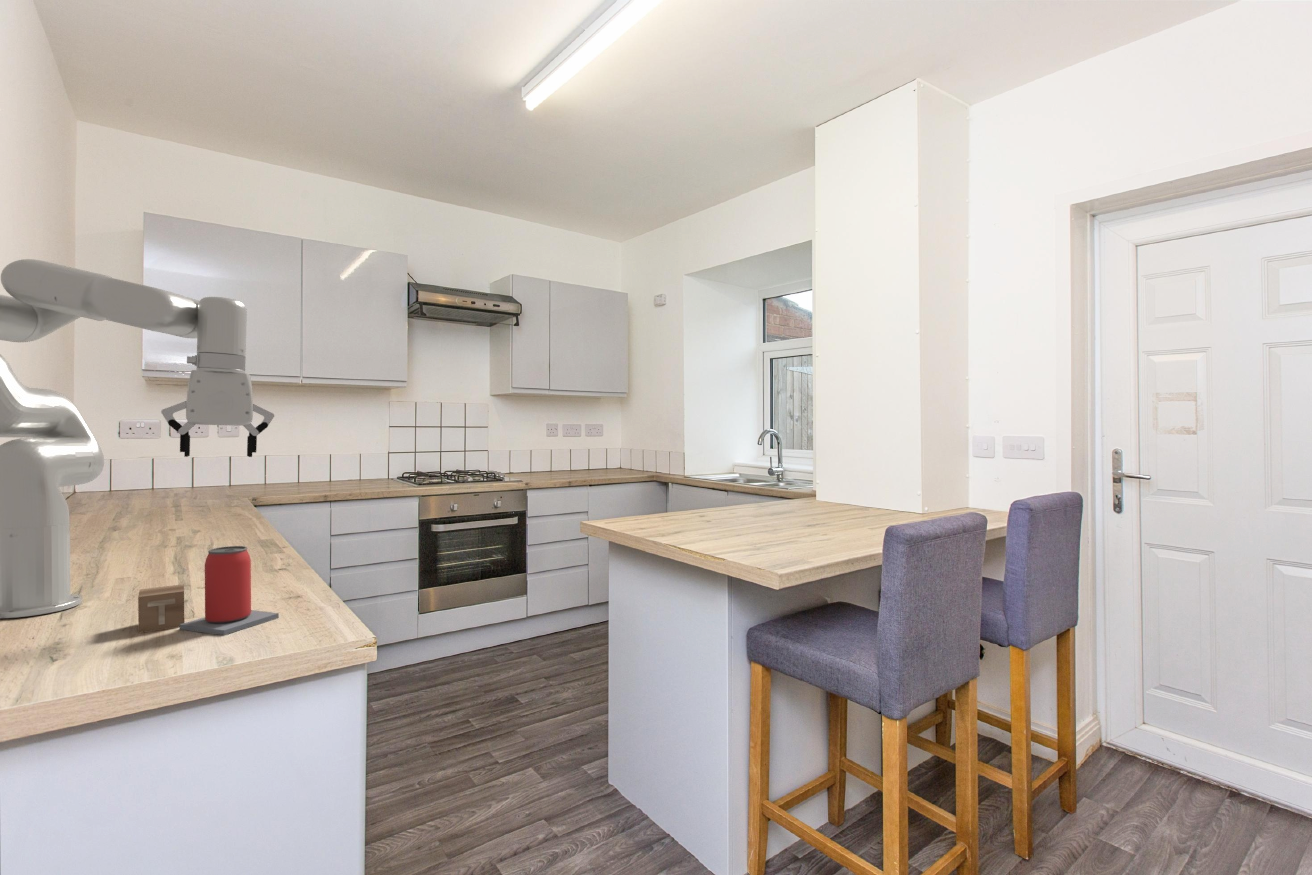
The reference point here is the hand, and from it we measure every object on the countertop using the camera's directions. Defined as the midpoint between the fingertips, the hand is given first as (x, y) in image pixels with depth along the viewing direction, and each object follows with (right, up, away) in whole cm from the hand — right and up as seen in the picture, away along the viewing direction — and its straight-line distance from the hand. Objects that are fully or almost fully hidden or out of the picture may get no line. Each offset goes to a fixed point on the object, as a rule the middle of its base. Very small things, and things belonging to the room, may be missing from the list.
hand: (219, 456), depth 117 cm
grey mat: (+9, -28, -10) cm, 31 cm away
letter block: (-2, -29, -11) cm, 30 cm away
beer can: (+9, -28, -10) cm, 31 cm away
